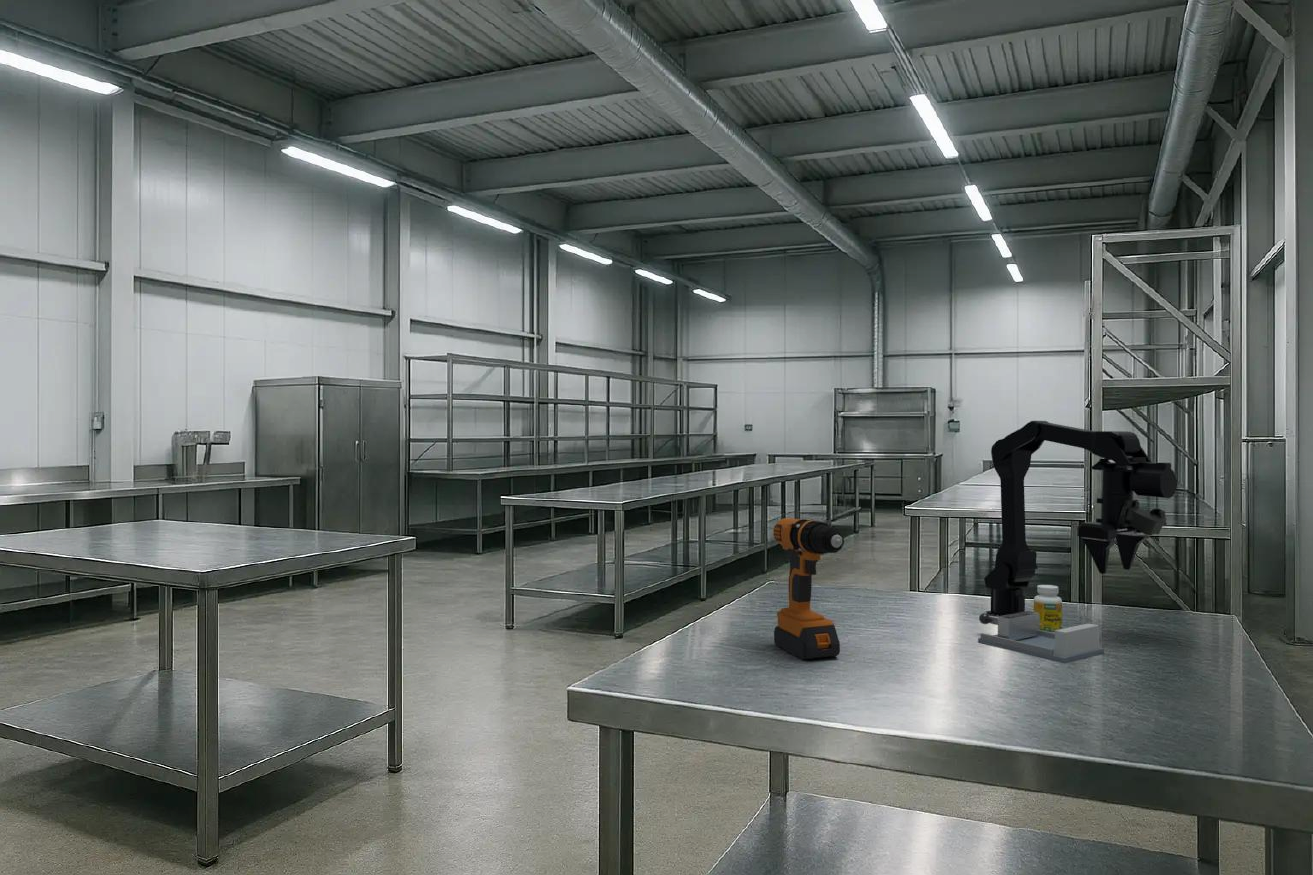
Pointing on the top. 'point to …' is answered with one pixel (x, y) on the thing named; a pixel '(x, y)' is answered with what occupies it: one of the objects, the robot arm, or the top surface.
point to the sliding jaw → (1014, 624)
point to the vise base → (1054, 643)
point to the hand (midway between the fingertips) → (1114, 571)
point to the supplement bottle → (1048, 608)
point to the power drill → (805, 589)
